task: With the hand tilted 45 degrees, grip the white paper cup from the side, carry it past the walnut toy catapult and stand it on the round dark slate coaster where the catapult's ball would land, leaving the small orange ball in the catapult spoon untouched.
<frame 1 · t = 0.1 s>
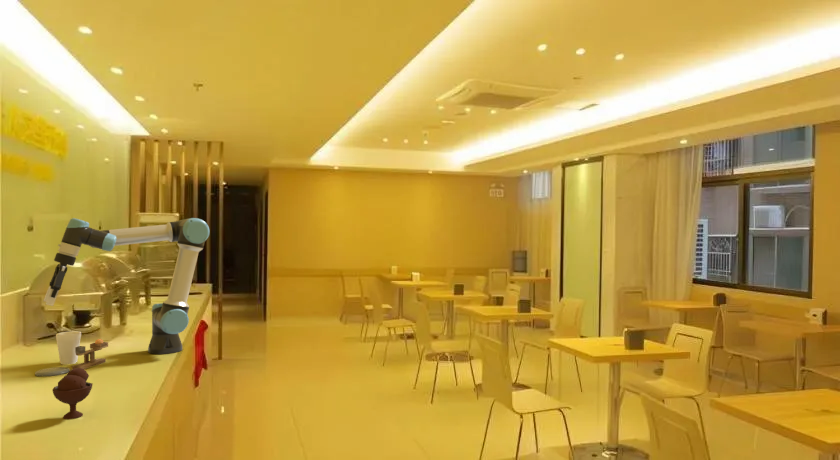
hand: (48, 303, 247), 28 cm above the counter, tool tilted 20°, fingers open, 13 cm apart
coaster: (52, 372, 244), on the counter
catapult: (89, 365, 256), on the counter
foam cup: (68, 363, 262), on the counter
ice cream bowl: (73, 417, 188), on the counter
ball: (99, 342, 262), point 9 cm above the counter, touching catapult
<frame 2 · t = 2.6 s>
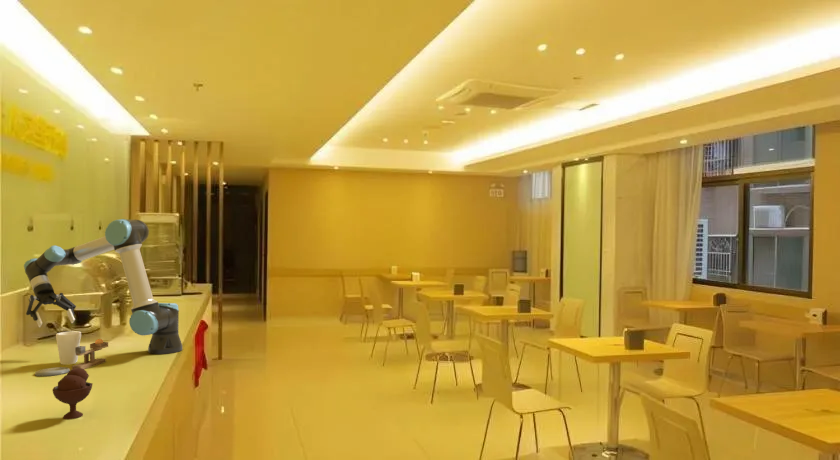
hand: (57, 323, 267), 16 cm above the counter, tool tilted 45°, fingers open, 13 cm apart
nothing on the counter moved.
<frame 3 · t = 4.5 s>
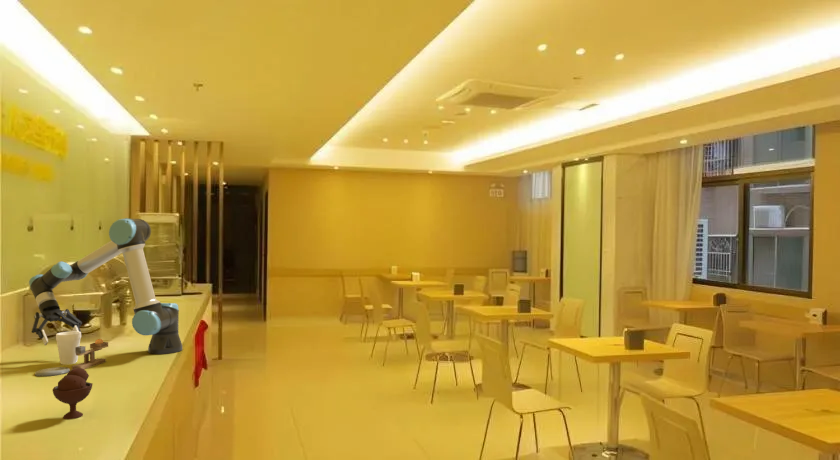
hand: (63, 340, 263), 9 cm above the counter, tool tilted 45°, fingers open, 13 cm apart
nothing on the counter moved.
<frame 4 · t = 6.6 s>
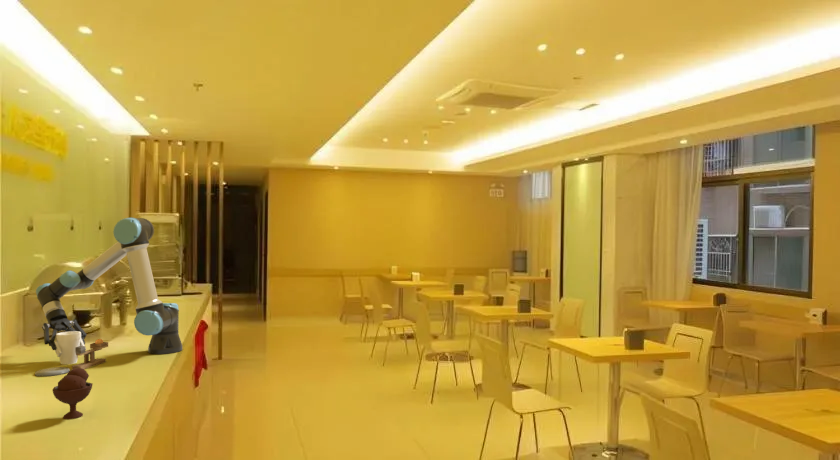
hand: (72, 352, 260), 5 cm above the counter, tool tilted 45°, fingers closed on foam cup, 9 cm apart
foam cup: (68, 363, 262), on the counter, touching gripper
everything else where it was.
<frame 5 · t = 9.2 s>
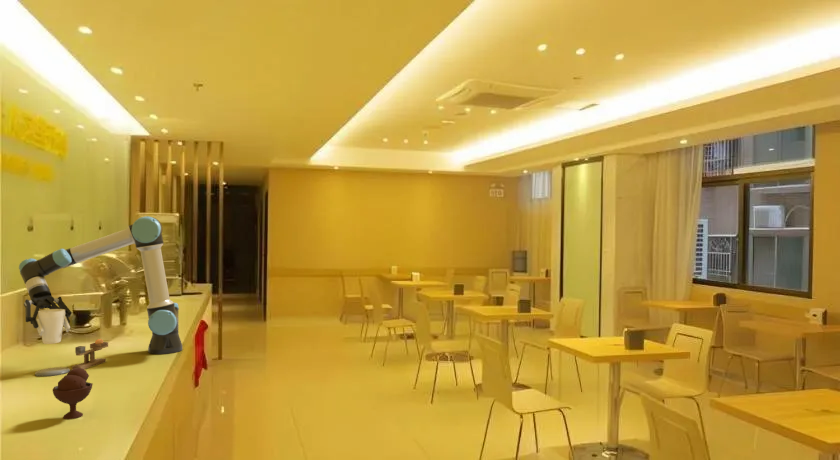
hand: (55, 331, 243), 17 cm above the counter, tool tilted 45°, fingers closed on foam cup, 9 cm apart
foam cup: (51, 342, 245), point 12 cm above the counter, touching gripper
everything else where it was.
when the fingers open (7 cm above the counter, at t = 11.8 s): foam cup drops 1 cm, resting on coaster.
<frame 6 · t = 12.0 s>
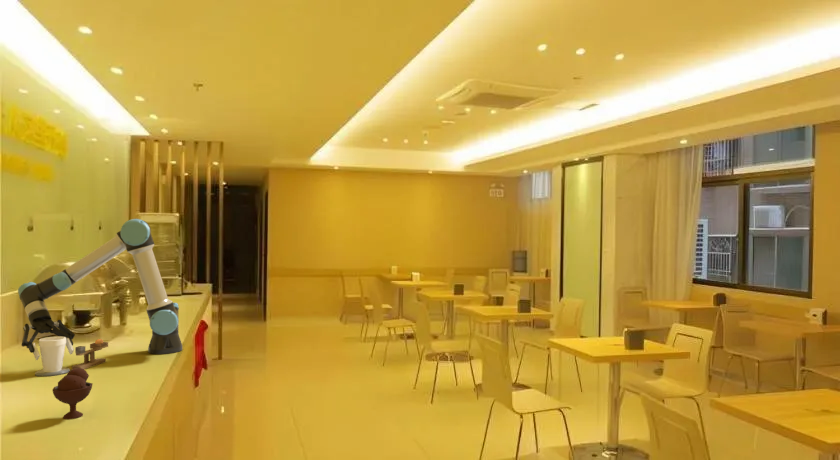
hand: (55, 355, 242), 8 cm above the counter, tool tilted 45°, fingers open, 12 cm apart
foam cup: (52, 370, 244), point 1 cm above the counter, touching coaster
everything else where it was.
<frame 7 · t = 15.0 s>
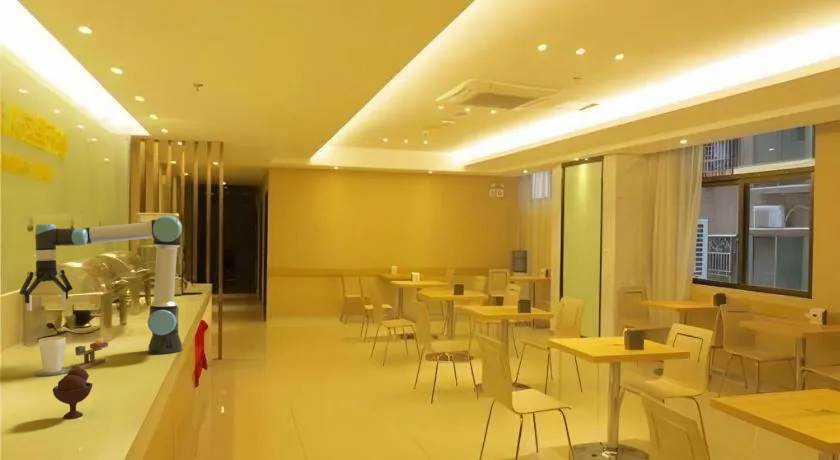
hand: (47, 308, 259), 24 cm above the counter, tool pointing down, fingers open, 13 cm apart
nothing on the counter moved.
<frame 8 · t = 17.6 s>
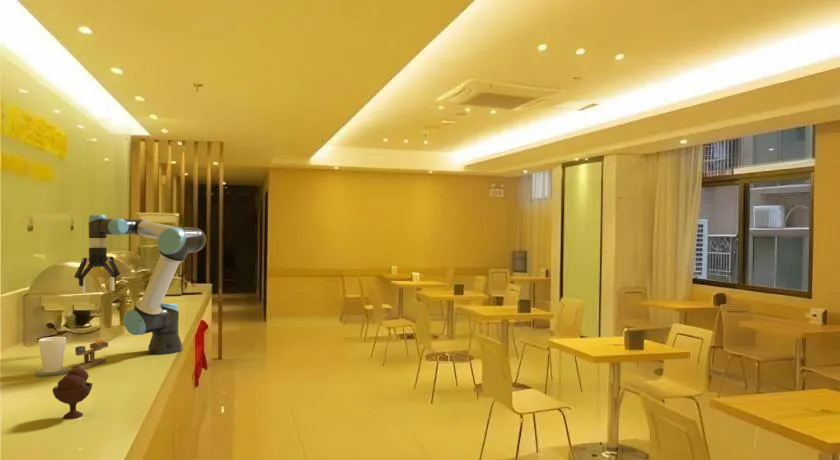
hand: (97, 291, 284), 29 cm above the counter, tool pointing down, fingers open, 13 cm apart
nothing on the counter moved.
at the end: foam cup 0.1 cm from the coaster (horizontally); foam cup tilted 0°; the gripper is holding nothing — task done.
